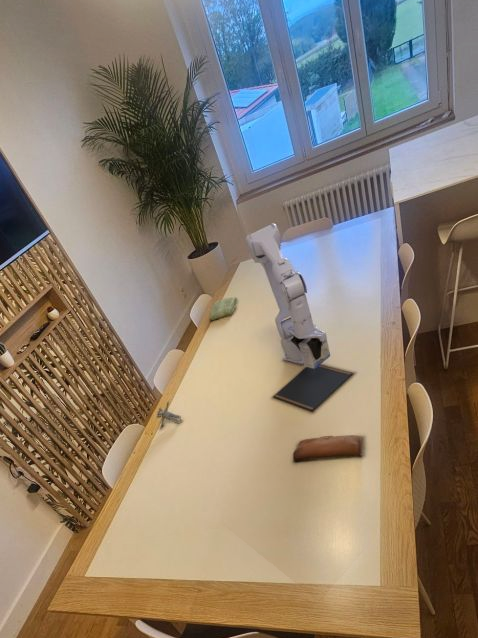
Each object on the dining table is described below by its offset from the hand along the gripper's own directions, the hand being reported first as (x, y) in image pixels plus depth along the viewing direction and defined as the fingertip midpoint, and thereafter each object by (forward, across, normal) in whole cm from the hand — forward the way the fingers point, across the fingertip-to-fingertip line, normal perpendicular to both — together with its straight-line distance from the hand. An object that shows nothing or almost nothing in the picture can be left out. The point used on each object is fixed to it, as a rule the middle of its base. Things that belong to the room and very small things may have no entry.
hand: (312, 356), depth 130 cm
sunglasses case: (+10, -23, +23) cm, 34 cm away
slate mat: (+10, +1, +3) cm, 10 cm away
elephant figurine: (+10, +39, +38) cm, 56 cm away
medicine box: (+3, 0, -2) cm, 4 cm away
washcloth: (+10, +87, -28) cm, 92 cm away
